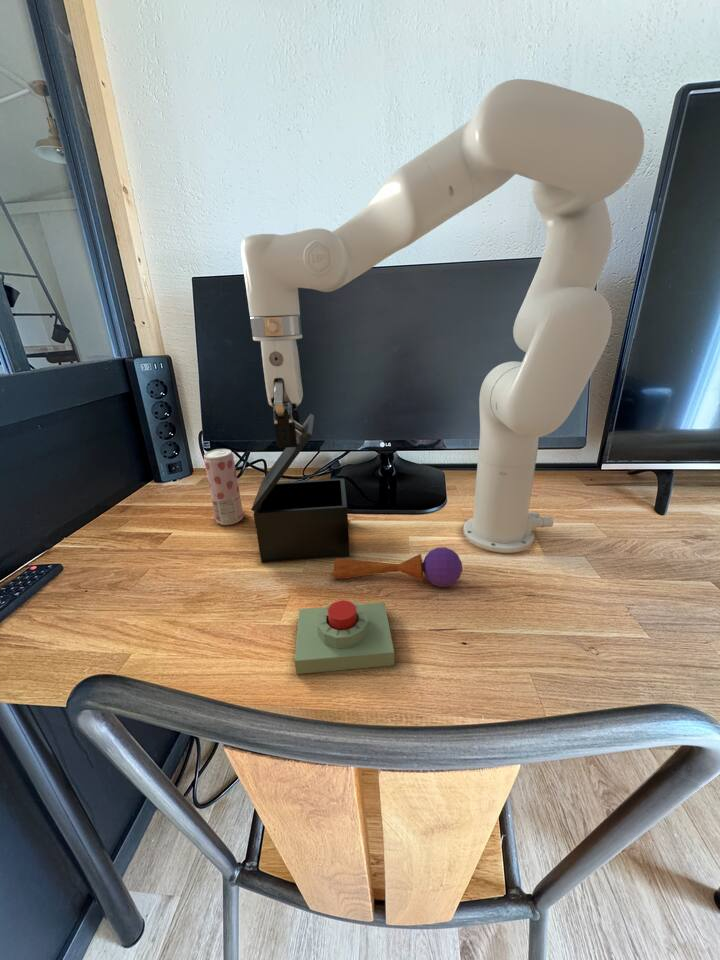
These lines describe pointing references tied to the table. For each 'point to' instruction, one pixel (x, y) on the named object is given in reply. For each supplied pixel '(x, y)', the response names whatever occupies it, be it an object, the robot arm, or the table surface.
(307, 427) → the lid
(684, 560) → the table surface
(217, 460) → the beverage can
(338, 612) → the button
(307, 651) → the control block
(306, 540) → the black box
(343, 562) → the kendama
